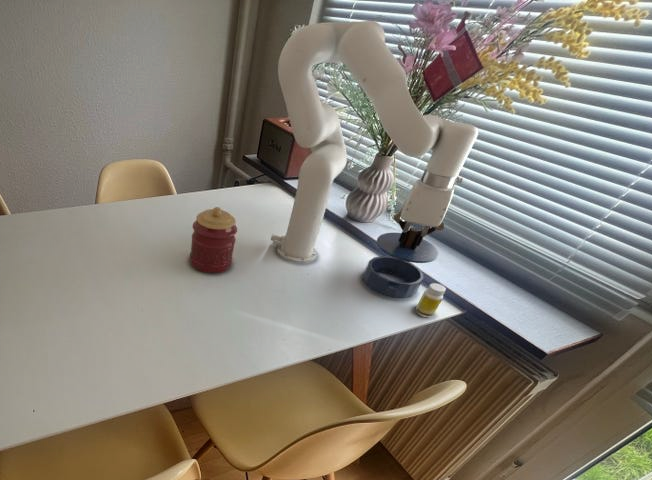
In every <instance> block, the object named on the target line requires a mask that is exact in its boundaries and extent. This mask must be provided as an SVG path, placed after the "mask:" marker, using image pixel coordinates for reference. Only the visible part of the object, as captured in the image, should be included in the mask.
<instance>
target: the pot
mask: <svg viewBox="0 0 652 480" xmlns="http://www.w3.org/2000/svg"><path fill="white" fill-rule="evenodd" d="M378 272H383V273H389V274H393V275H396V276H399V277H400V278H402V279H404V280H406V281H407V282H402V281H401V282H400V281H396V280H392V279H388V278H386V277H384V276H383V275H380V274H379V273H378ZM362 281H363V283H364V285H365V286H366V287H367V288H368V289H370V290H371V291H372V292H374V293H377V295H378V294H379V295H380V296H383V297H387V298H390V299H401V300H403V299H408V298H409V299H410V298H412V297H413V296H415V294H416V293H417V291H418V290H419V288H420V286H421V285H422V282H423V281H424V273H423V271H422V270H421V269H420V268H419V267H418V266H417V265H415V264H413V262H407V261H403V260H399V259H397V258H394V257H392V256H390V255H388V256H387V255H386V256H385V255H380V256H375V257H373V258H371V259H369V260H368V263H367V265H366V267H365V270H364V273H363V276H362Z"/></svg>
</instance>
